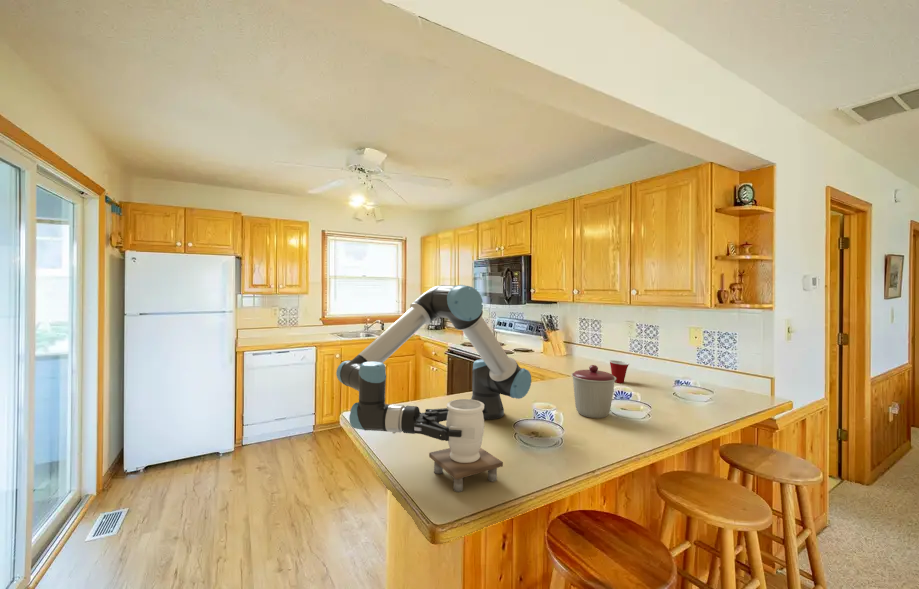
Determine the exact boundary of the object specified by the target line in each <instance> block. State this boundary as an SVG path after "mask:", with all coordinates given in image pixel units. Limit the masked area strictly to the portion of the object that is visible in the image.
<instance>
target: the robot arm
mask: <svg viewBox="0 0 919 589" xmlns="http://www.w3.org/2000/svg"><path fill="white" fill-rule="evenodd" d="M483 308H484V305H483V298H482V295H481V293H480V292H479V290H477V289H476V288H474V287H473V286H471V285H470V286H469V285H465V284H458V285H457V284H455V285H453V284H452V285H450V284H449V285H447V284H441V285H440V284H439V285H436V286H433V287H431V288H430V289H428V290H427V291H425V292H423V293H422V294H420V296H418V297H417V298H416V299H415V300H414V301H413V302H412V303H411V304H410V305H409V309H408V310H407V311H405V313H404V314H402V315H401V316H400V317H399V318H397V320H395V322H393V323H392V324H391V325H390V326H389V327H388V328H386V329H385V330H384V331H383V332H382V333H381V334H380V335H379V336H377V338H375V339H374V340H373V341H372V342H371V343H370V344H368V345H367V346H366V347H365V348H364V349H363V350H362V351H360V352H359V353H358V354H357V355H356V356H355V357H353V359H351V360H345V361H342V362H341V363H340V364H339V365H338V366H337V368H336V373H335V374H336V378H337V381H339V382H340V383H341V384H343V385H344V386H346V387H350V388H352V389H354V390H355V391H358V402H355V403H353V405H352V406H351V407H350V414H349V418H348V419H349V420H348V421H349V425H350V426H351V427H352V428H353V429H357V430H362V431H372V432H377V431H378V432H389V433H392V434H396V433H404V434H409V435H410V434H412V435H415V434H418V435H424V436H426V437H429V438H433V439H436V440H439V441H442V442H443V441H445V442H448V441H449V436H450V437H453V438H465V439H475V428H469V427H456V426H450V429H449V428H448V427H446V425H444V424H442V423H441V422H446V421H447V414H448V411H449V410H448V409H447V407H444V408H425V411H424V412H421V411H420V407H418V406H417V405H415V406H414V405H406V406H405V405H403V404H387V403H386V385H387V384H386V383H387V382H386V381H387V380H386V379H387V374H386V365H385V363H384V362H385V361H387V360H388V358H390V357H391V356H392V355H393V354H394V353H395V352H397V351H398V350H399V348H401V346H403V345H404V344H405V343H406V342H407V341H408V340H409V339H410V338H411V337H413V335H414V334H416V333H417V332H418V331H419V330H420V329H421V328H422V327H423V326H425V325H429V324H431V322H433V321H434V320H436V319H440V318H444V319H448V320H449V322H450V323H451V324H452V326H453V328H454V329H455V330H457V331H462V332H463V334H464V335H465V337H466V338H467V339H468V341H469V343H470V344H471V345H472V347H473V348H474V349H475V351H476V352H477V353H478V355H479V356H480V359H476V360H475V361H474V362H473V364H472V394H471V397H470V399H471V400H477V401H480V402H482V403H484V410H483V411H482V412H483V416H484V420H496V419H501V418H502V417H504V415H505V414H504V413H505V409H504V408H505V407H504V405H503V401H502V398H501V395H503V396H506V397H510V398H512V399H516V400H517V399H518V400H520V399H522V398H524V397H525V396H527V394H528V393H529V391H530V388H531V385H532V374H531V372H530V371H529V370H528V369H526V368H522V367H520V365H519V364H518V362H517V360H516V359H514V358H513V357H509V355H508V354H507V353H506V351H505V350H504V348H503V346H502V345H501V343H500V342H499V340H498V339H497V337H496V336H495V334H494V333H493V331H492V330H491V329H490V327H489V325H488V324H487V322H486V320H485V319H484V318H483V314H484V310H483Z"/></svg>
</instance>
